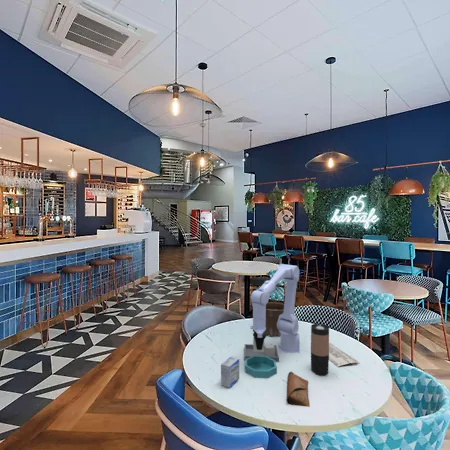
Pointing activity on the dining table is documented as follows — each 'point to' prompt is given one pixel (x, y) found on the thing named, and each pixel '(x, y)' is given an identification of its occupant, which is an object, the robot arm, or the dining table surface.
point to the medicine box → (230, 372)
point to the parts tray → (249, 352)
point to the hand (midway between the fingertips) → (259, 347)
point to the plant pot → (273, 318)
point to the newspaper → (340, 357)
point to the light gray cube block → (269, 350)
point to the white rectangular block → (256, 348)
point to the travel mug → (319, 349)
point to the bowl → (260, 366)
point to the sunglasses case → (297, 390)
